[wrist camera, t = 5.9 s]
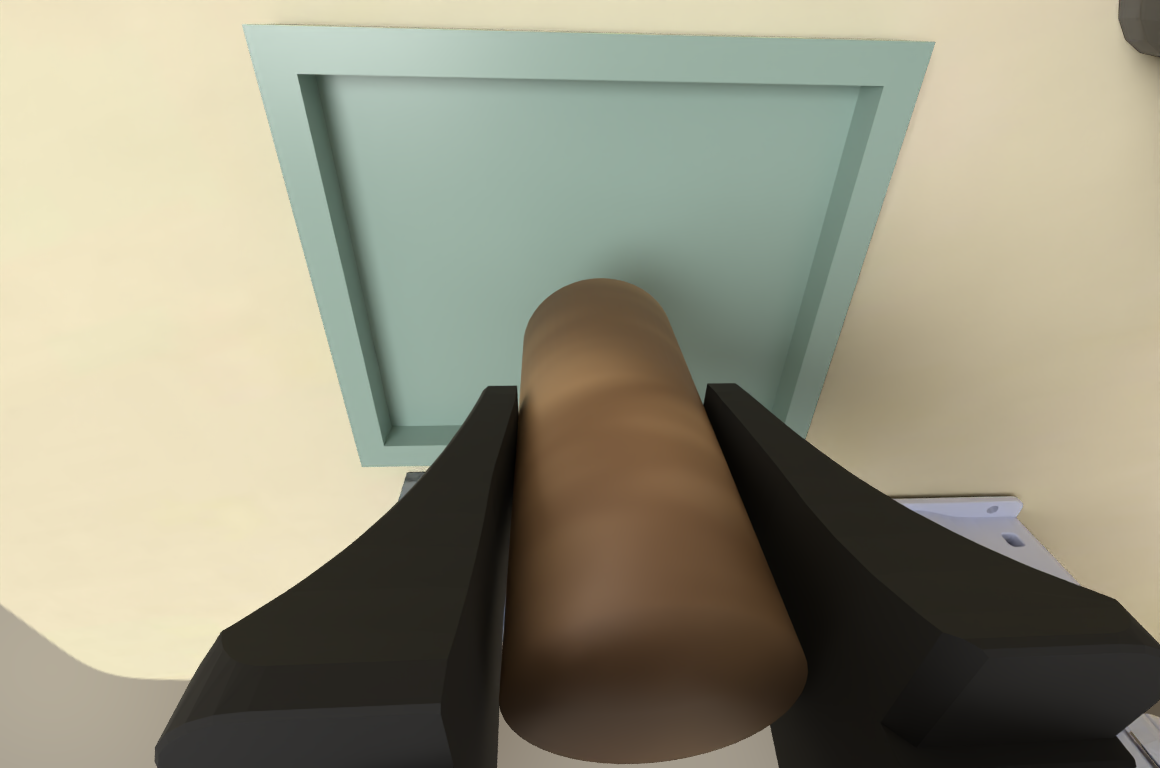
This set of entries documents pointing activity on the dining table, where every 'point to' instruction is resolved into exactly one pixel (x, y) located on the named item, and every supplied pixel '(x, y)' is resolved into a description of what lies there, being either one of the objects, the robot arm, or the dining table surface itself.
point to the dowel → (631, 550)
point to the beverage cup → (1141, 24)
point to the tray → (576, 200)
